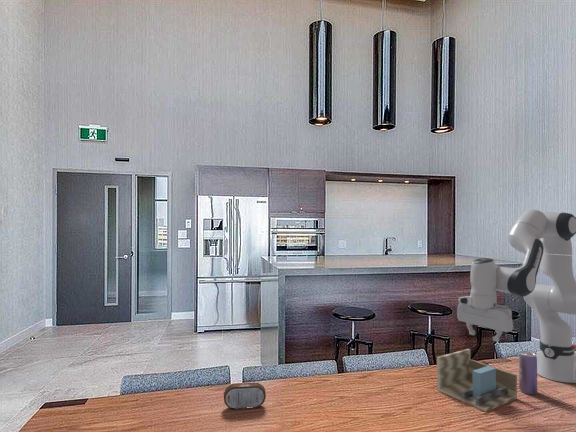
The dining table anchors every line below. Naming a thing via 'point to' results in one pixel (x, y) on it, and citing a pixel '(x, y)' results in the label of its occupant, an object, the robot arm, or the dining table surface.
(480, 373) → the light blue flat block
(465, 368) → the rack
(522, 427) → the dining table surface
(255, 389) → the tin
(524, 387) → the beverage can
